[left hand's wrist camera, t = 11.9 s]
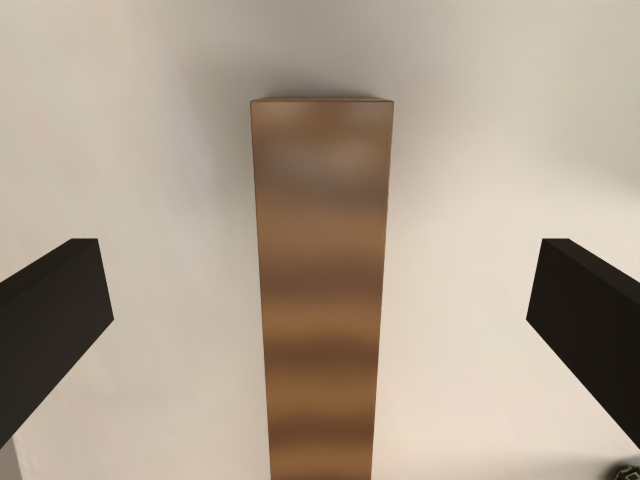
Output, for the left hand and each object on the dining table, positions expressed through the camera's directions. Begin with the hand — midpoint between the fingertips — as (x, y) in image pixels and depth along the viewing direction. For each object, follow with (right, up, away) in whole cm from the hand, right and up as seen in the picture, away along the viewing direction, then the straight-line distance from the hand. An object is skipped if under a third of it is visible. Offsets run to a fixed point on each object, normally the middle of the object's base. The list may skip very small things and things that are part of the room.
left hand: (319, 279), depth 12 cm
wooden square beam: (0, -12, +30) cm, 32 cm away
